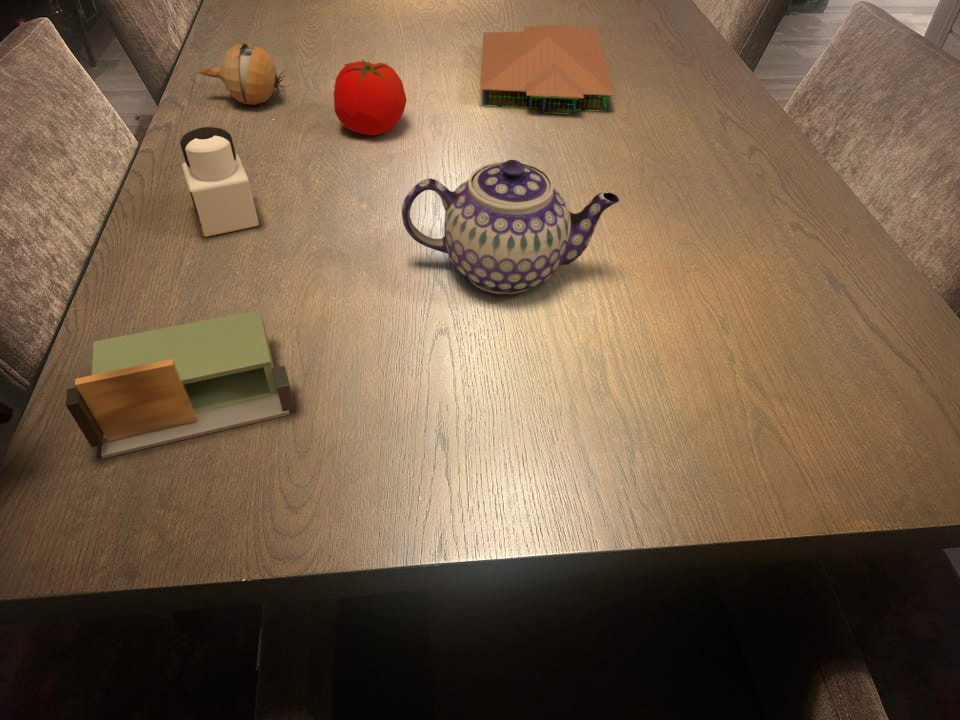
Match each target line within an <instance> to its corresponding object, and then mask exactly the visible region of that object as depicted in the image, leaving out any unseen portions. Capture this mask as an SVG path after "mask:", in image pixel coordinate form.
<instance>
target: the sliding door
mask: <svg viewBox="0 0 960 720" xmlns="http://www.w3.org/2000/svg"><path fill="white" fill-rule="evenodd" d="M74 386H75V387H70V388H67V389H66V398H65V406H66V409H67V410H68V411H69V413H70V415H71V416H72V418H73V420H74V421H75V423H76V424H77V426H78V428H79V430H80V431H81V433H82V434H83V436H84V438H85V440H86V441H87V443H88V444H89V446H90V447H91V448H96V447H101V445H103V436H105V438H106V439H107V441H113V440H117V439H121V438H126V437H130V436H134V435H139V434H143V433H147V432H152V431H156V430H161V429H165V428H169V427H174V426H178V425H182V424H187V423H191V422H195V421H197V418H196V414H195V411H194V409H193V406H192V404H191V401H190V399H189V396H188V394H187V392H186V389H185V387H184V384H183V382H182V379H181V377H180V375H179V372H178V370H177V367H176V365H175V362H174V360H173V359H169V360H164V361H159V362H154V363H149V364H144V365H139V366H135V367H130V368H125V369H120V370H115V371H110V372H105V373H100V374H95V375H92V374H90V375H86V376H81V377H77V378H75V379H74Z"/></svg>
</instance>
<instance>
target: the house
mask: <svg viewBox="0 0 960 720" xmlns="http://www.w3.org/2000/svg"><path fill="white" fill-rule="evenodd" d="M482 34H483V35H482V52H481V70H480V71H481V72H480V90H482V91H483V90H484V105H483V106H487V107H497V105H496V103H494V104H493V105H491V104H486V102H487V97H489V98H492V97H494V98H496V95H491V94H492V91H494V92H496V91H500V92H501V91H502V92H503V91H504V95H498V97H499V98H498V103H499V104H500V103H501V102H500V101H501V98H503V99H505V98H510V95H507V96H506V92H508V94H511V92H522V93H523V94H522V97H521V96H520V94H518V95H517V98H518V99H517V100H520V99H527V97H528V104H527V103H525V105H524V102H521V103H522V105H521V107H524V108H528V109H538V106H537V104H535V105H534V107H533V106H532V105H533V98H535V100H542V99H543V101H540V104H539V106H541V105H542V113H543V114H549V111H548V112H547V111H546V103H547V102H546V101H547V99H549V101H551V100H552V99H559V102H549V108H548V110H550V109H551V107H550V106H551V105H553V107H555V105H561V100H562V101H563V103H565V102H566V101H568V102H570V101H571V103H568V104H567V109H569V106H572V107H570V108H571V109H570V112H572V110H573V115H576V111H580V108H581V105H579V106H578V107H579V108H578V109H577V103H578V100H579V102H584V105H583V107H585V104H586V102H588V105H590V103H591V97H594V100H593V103H595V102H596V98H599V99H598V104H597V107H599V106H600V103H602V105H603V107H602V109H601V111H604V112H607V109H608V103H609V98H610V97H615V96H616V95H615V91H614V87H613V84H612V80H611V75H610V72H609V69H608V65H607V60H606V57H605V54H604V50H603V46H602V43H601V39H600V35H599V31H598V29H594V28H588V27H581V26H574V25H569V24H549V25H524V26H523V31H493V32H492V31H491V32H482ZM487 91H490V92H489V94H490V95H487ZM524 95H525V96H524ZM587 96H589V100H588V99H587ZM600 99H602V100H600ZM514 101H515V98H513V99H512V104H514V103H515V102H514ZM509 104H510V102H508V104H507V105H503V107H505V108H506V107H508V108H517V105H516V106H514V105H509ZM523 105H524V106H523ZM526 105H528V106H526ZM564 107H565V106H563V107H562V111H564V109H565V108H564ZM594 107H595V105H593V107H592V109H590V107H588V109H586V111H589V112H600V110H599V109H597V110H596V109H594ZM557 110H558V111H557V112H555V111H553V112H552V114H556V115H557V114H559V115H569V111H567V113H564V112H560V108H558V109H557ZM545 111H546V112H545Z"/></svg>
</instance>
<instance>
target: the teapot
mask: <svg viewBox="0 0 960 720" xmlns="http://www.w3.org/2000/svg"><path fill="white" fill-rule="evenodd" d="M425 191H432V192H434V193H436V194H437V195H438V196H439V198H440V200H441V204H442V206H443V208H444V223H443V235H444V236H443V237H441V238H434V237H430V236H428V235H425V234H424V233H422V231H420V230H419V229H418V228H416V226H415V225H414V224H413V222H412V219H411V209H412V205H413V203H414V201H415V199H416V198H417V197H418V196H419V195H420V194H423V192H425ZM619 202H620V198H619V196H617V195H616V194H615V193H613V192H610V191H600V192H599V193H597V194H596V195H595V196H593V197H592V198H591V199H590V200H589V202H588V203H587V204H586V206H584V208H582V210H581V211H579V212H577V213H573V212H571V210H570V209H569V207H568V205H567V203H566V201H565V199H564V197H563V195H561V193H560V191H558V190H557V188H555V187H554V183H553V181H552V178H551V177H550V176H549V174H548V173H546V172H544V171H543V170H541V169H540V168H538V167H536V166H534V165H531V164H527V163H524V162H521V161H519V160H517V159H508V160H506V161H499V162H491V163H487V164H484V165H481V166H480V167H478V168H476V169H475V170H474V171H473V172H472V173H471V174H470V176H469V177H468V179H467V180H465V181H463V182H461V184H459V186H457V187H456V189H454V190H453V191H451V190H450V189H449V188H448V187H446V186H445V185H444V184H442V183H441V182H440V181H438V180H437V179H435V178H425V179H422V180H420V181H419V182H418V183H416V184H415V185H414V186H413V187H412V188H411V189H410V191H408V193H407V194H406V196H405V197H404V199H403V202H402V204H401V220H402V223H403V226H404V229H405V231H406V232H407V233H408V235H409V236H410V238H412V239H413V240H414V241H415V242H417V243H418V244H419V245H421V246H424V247H426V248H429V249H432V250H434V251H438V252H441V253H443V254H446V255H448V258H449V260H450V261H451V263H452V265H454V267H455V269H456V270H457V272H458V273H460V274H461V275H462V276H463V277H465V278H467V280H469V282H470V283H471V284H472V285H473V286H475V287H476V288H477V289H479V290H482V291H484V292H487V293H491V294H495V295H496V294H497V295H516V294H521V293H524V292H526V291H529V290H530V289H532V288H534V287H536V286H538V285H541V284H543V283H544V282H546V281H547V280H549V279H550V278H551V277H552V276H553V275H554V274H555V273H556V271H557V269H559V268H560V267H561V266H567V265H570V264H571V263H573V262H574V261H576V260H577V259H578V258H579V257H581V256H582V255H583V253H584V252H585V250H586V249H587V248H588V246H589V244H590V241H591V239H592V237H593V234H594V232H595V229H596V227H597V224H598V222H599V220H600V218H601V216H602V215H603V213H604V212H605V211H606V210H607V209H608V208H610V207H612V206H614V205H615V204H618V203H619Z"/></svg>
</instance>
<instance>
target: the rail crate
mask: <svg viewBox="0 0 960 720" xmlns="http://www.w3.org/2000/svg"><path fill="white" fill-rule="evenodd" d="M271 351H272V350H271V345H270V342H269V339H268V335H267V331H266V327H265V323H264V319H263V314H262V311H261V309H256V310H251V311H246V312H239V313H235V314H230V315H223V316H219V317H213V318H209V319H203V320H198V321H194V322H193V321H192V322H188V323H183V324H182V323H181V324H177V325H172V326H168V327H163V328H162V327H161V328H157V329H152V330H151V329H150V330H146V331H142V332H141V331H140V332H136V333H131V334H126V335H120V336H116V337H109V338H105V339H100V340H95V341H93V344H92V363H91V375H95V374H100V373H105V372H110V371H115V370H120V369H125V368H130V367H135V366H139V365H144V364H149V363H154V362H159V361H164V360H169V359H173V360H174V362H175V365H176V367H177V370H178V372H179V375H180V377H181V379H182V382H183V384H184V387H185V389H186V392H187V394H188V396H189V399H190V401H191V404H192V406H193V409H194V411H195V414H196V418H197V421H195V422H191V423H187V424H182V425H178V426H174V427H169V428H165V429H161V430H156V431H152V432H147V433H143V434H139V435H134V436H130V437H126V438H121V439H117V440H113V441H107V439H106V438H105V436H103V445H101V446H100V456H101V459H107V458H113V457H117V456H120V455H125V454H129V453H133V452H138V451H142V450H146V449H150V448H153V447H154V448H155V447H159V446H163V445H167V444H172V443H177V442H179V441H180V442H181V441H183V440H189V439H194V438H197V437H202V436H205V435H210V434H214V433H218V432H221V431H222V432H223V431H227V430H231V429H236V428H239V427H244V426H247V425H253V424H257V423H261V422H264V421H269V420H275V419H277V418H282V417H285V416H290V415H291V413H296V406H295V402H294V398H293V393H292V389H291V385H290V380H289V376H288V372H287V368H286V365H281V366H276V367H275V366H274V362H273V361H274V360H273V356H272V352H271Z"/></svg>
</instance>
